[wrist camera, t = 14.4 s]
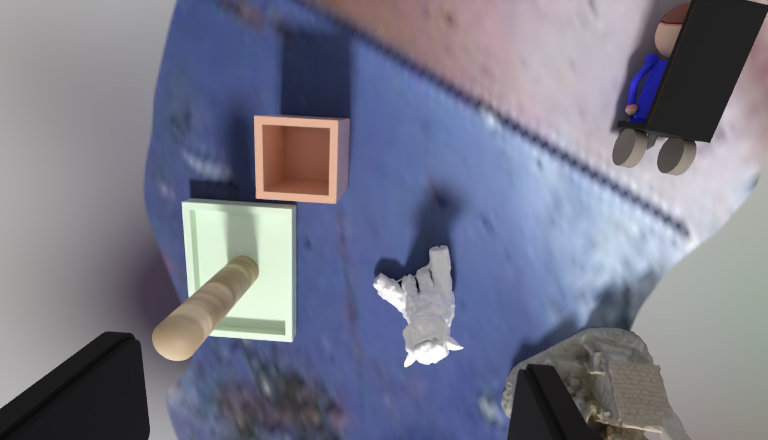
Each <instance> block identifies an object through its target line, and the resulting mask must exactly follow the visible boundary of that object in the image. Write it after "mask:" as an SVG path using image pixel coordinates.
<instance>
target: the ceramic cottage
mask: <svg viewBox="0 0 768 440" xmlns="http://www.w3.org/2000/svg"><path fill="white" fill-rule="evenodd" d="M527 364H542V365H552V366H554V368H555V369H556V371H557V372H558V374H559V376H560V378H561V379H562V381H563V383H564V385H565V386H566V388H567V390H568V392H569V393H570V395H571V397H572V399H573V400H574V402H575V404H576V405H577V407H578V409H579V411H580V412H581V414H582V416H583V418H584V419H585V421H586V423H587V425H588V426H589V427H593V428H595V429H596V430H597V431H598V432H599V433H600V435H601V436H602V438H603V440H648V439H647V438H646V437H645V436H644V432H645V431H651V432H655V433H657V434H658V435H659V436H660V437H661V438H662V439H663V440H691V439H690V437H689V436H688V434H687V433H686V431H685V429H684V427H683V424H682V422H681V421H680V419H679V418H678V416H677V415H676V414H675V413H674V411H673V410H672V407H671V406H670V404H669V403H668V398H667V395H666V391H665V388H664V384H663V378H662V377H661V375H660V370H661V368H660V367H659V366H658V365H654V362H653V358H652V356H650V354H649V352H648V349H647V346H646V344H645V343H644V342H643V341H642V339H641V338H640V337H639V336H638V335H636V334H635V333H634V332H632V331H627V330H624V329H620V328H610V327H601V328H598V327H597V328H587V329H585V330H583V331H581V332H578V333H577V334H574V335H573V336H571V337H569V338H567V339H565V340H564V341H561V342H559V343H557V344H556V345H554V346H551V347H549V348H548V349H546V350H544V351H542V352H540V353H538V354H536V355H534V356H532V357H530V358H528V359H526V360H524V361H522V362H520V363H519V364H518V365H516V366H515V367H514V368H513V369H512V370H511V372H510V373H509V375H508V377H507V378H506V380H507V381H506V384H505V385H506V388H505V391H504V393H503V394H502V395H503V397H502V407H503V409H504V411H505V413H506V415H507V416H508V417H509V418H510V419H511V413H512V406H513V400H514V394H515V387H516V381H517V375H518V371H519V370H520V369H526V366H527Z"/></svg>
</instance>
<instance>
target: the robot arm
mask: <svg viewBox="0 0 768 440" xmlns="http://www.w3.org/2000/svg"><path fill="white" fill-rule="evenodd" d="M149 434H150V425H149V416H148V407H147V397H146V388H145V379H144V370H143V361H142V351H141V344H140V342H139V341H138V340H136V339H135V337H134V335H133V334H131V333H123V332H104V333H102V334H101V335H100V336H98V337H97V338H96V339H94V340H93V341H91V342H90V343H89V344H87V345H86V346H85V347H83V348H82V349H81V350H79V351H78V352H77V353H76V354H74V355H73V356H71V357H70V358H68V359H67V360H66V361H64V362H63V363H62V364H60V365H59V366H58V367H56V368H55V369H54V370H52V371H51V372H50V373H48V374H47V375H45V376H44V377H43V378H42V379H40V380H39V381H37V382H36V383H35V384H33V385H32V386H31V387H29V388H28V389H27V390H25V391H24V392H23V393H21V394H20V395H19V396H17V397H16V398H15V399H13V400H12V401H10V402H9V403H8V404H6V405H5V406H3V407H2V408H1V409H0V440H148V438H149ZM507 440H603V438H602V436H601V435H600V433H599V432H598V431H597V430H596V429H595V428H593V427H589V426H588V425H587V423H586V421H585V419H584V418H583V416H582V414H581V412H580V411H579V409H578V407H577V405H576V404H575V402H574V400H573V399H572V397H571V395H570V393H569V392H568V390H567V388H566V386H565V385H564V383H563V381H562V379H561V378H560V376H559V374H558V372H557V371H556V369H555V368H554V366H552V365H542V364H527V366H526V369H520V370H519V371H518V375H517V381H516V387H515V394H514V400H513V406H512V413H511V419H510V426H509V432H508V438H507Z"/></svg>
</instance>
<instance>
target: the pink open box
mask: <svg viewBox="0 0 768 440" xmlns="http://www.w3.org/2000/svg"><path fill="white" fill-rule="evenodd" d="M254 135H255V174H256V199H270V200H286V201H301V202H317V203H333V204H336V203H337V202H338V201H339V199H340V198H341V197H342V195H343V194H344V192H345V191H346V190H347V188H348V170H349V139H350V118H332V117H315V116H297V115H258V116H254Z"/></svg>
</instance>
